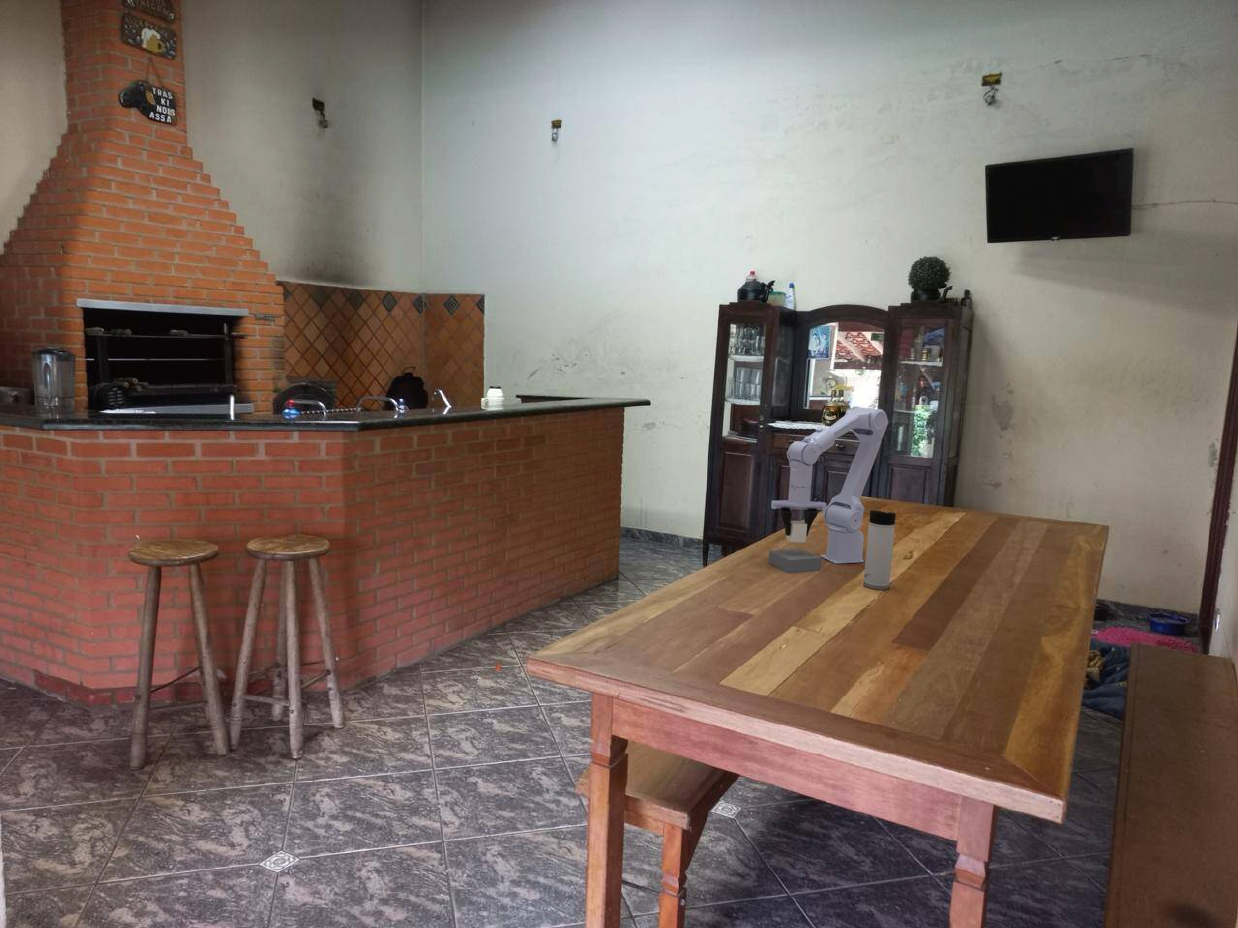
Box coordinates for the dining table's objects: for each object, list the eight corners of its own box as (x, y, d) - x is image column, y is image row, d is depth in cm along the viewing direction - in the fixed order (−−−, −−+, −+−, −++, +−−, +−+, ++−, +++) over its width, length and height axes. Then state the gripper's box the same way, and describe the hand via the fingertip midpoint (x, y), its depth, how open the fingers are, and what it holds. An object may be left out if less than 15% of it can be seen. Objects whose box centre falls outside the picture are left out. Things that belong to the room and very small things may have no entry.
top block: (805, 542, 210) (807, 524, 209) (791, 542, 209) (792, 524, 208) (800, 538, 214) (801, 520, 213) (786, 538, 213) (787, 520, 212)
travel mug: (860, 587, 196) (867, 510, 193) (865, 581, 202) (872, 506, 199) (886, 592, 193) (894, 513, 190) (890, 585, 199) (898, 509, 196)
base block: (798, 561, 219) (799, 548, 218) (820, 571, 210) (821, 557, 209) (768, 564, 215) (769, 550, 215) (788, 574, 206) (790, 560, 206)
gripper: (822, 484, 213) (818, 532, 215) (770, 482, 213) (766, 530, 215) (830, 489, 206) (826, 538, 208) (775, 487, 206) (772, 536, 208)
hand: (796, 535), depth 211 cm, fingers closed on top block, 4 cm apart
